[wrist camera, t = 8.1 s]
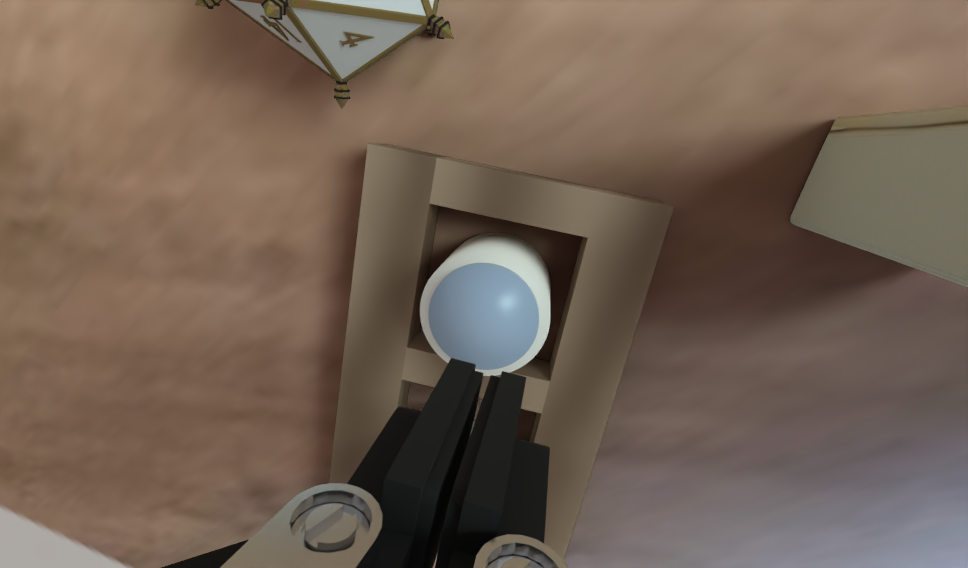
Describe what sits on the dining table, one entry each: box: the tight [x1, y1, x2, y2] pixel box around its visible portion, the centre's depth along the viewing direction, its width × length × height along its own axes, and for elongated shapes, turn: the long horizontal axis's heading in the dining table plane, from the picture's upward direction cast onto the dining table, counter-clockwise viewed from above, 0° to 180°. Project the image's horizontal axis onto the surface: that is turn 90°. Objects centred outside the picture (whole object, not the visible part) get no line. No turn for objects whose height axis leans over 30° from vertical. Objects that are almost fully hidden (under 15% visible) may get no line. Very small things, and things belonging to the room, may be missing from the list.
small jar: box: [420, 232, 550, 376], centre depth 19 cm, size 5×5×4 cm
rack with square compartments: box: [329, 143, 674, 560], centre depth 23 cm, size 12×26×2 cm, turn 169°
